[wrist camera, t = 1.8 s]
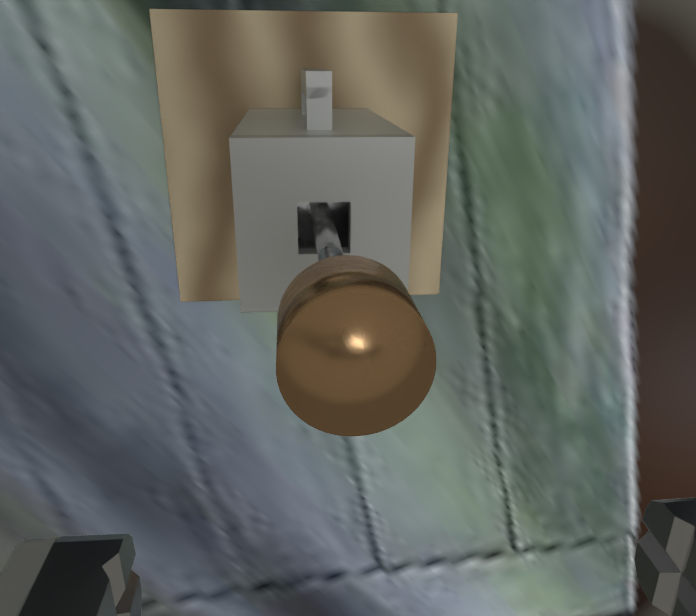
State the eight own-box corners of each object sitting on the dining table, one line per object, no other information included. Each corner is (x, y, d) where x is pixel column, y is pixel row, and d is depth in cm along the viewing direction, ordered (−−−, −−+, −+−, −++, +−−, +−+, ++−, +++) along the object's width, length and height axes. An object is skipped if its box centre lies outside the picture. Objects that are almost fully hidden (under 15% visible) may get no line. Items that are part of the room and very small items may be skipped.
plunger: (267, 247, 35) (245, 470, 16) (262, 143, 33) (230, 259, 14) (367, 245, 35) (462, 458, 16) (369, 142, 33) (481, 253, 14)
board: (183, 294, 47) (180, 301, 46) (153, 10, 40) (149, 9, 38) (434, 287, 49) (438, 293, 48) (451, 14, 42) (457, 13, 40)
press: (256, 223, 44) (240, 312, 29) (247, 67, 40) (224, 71, 25) (364, 221, 45) (407, 307, 29) (367, 67, 41) (418, 72, 25)
